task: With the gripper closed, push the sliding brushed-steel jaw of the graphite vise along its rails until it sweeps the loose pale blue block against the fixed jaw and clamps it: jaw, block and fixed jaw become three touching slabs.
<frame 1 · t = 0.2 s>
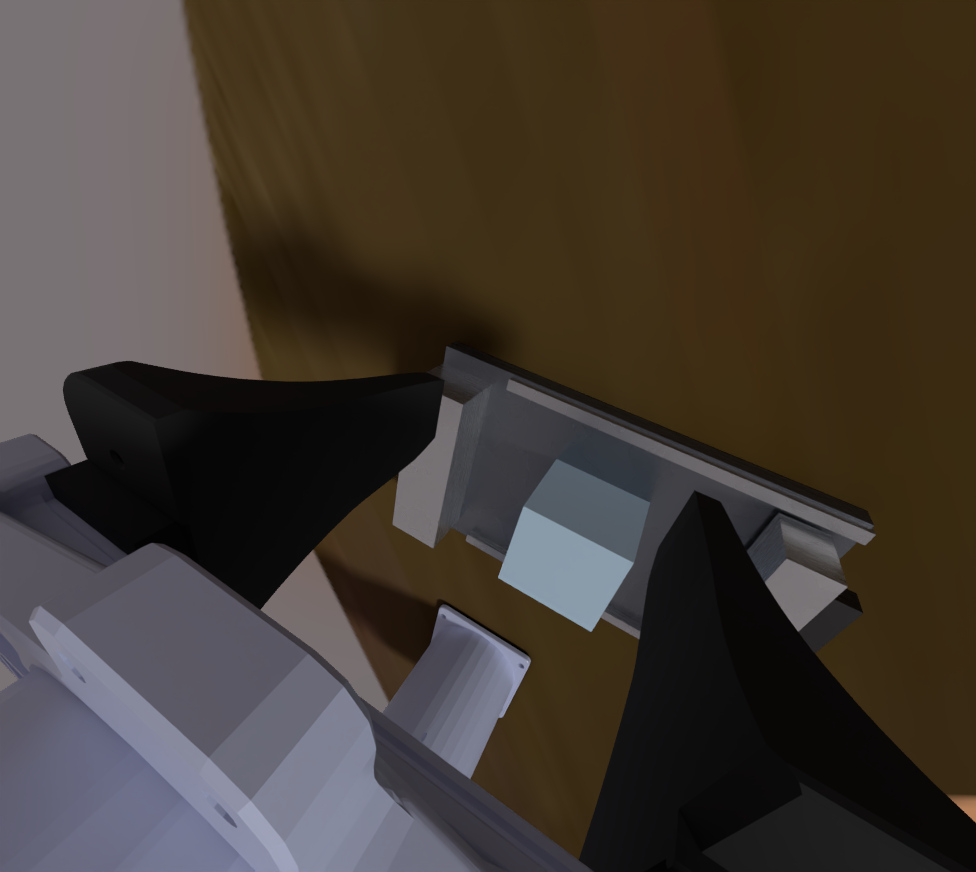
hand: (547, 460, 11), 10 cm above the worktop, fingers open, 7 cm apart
steel block: (585, 515, 22), point 1 cm above the worktop, touching vise
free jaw: (754, 627, 19), point 3 cm above the worktop, slide at 0.0 cm
vise: (590, 504, 23), on the worktop
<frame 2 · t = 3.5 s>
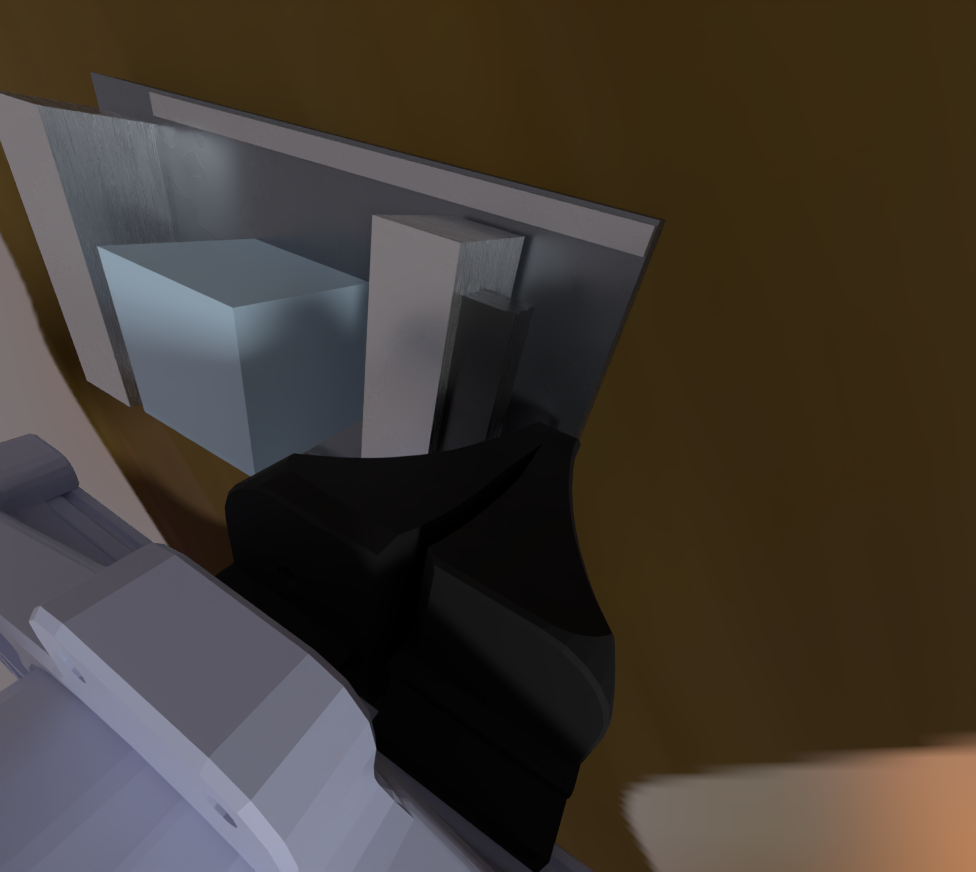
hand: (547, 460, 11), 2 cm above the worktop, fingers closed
steel block: (311, 332, 15), point 1 cm above the worktop, touching vise
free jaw: (445, 430, 12), point 3 cm above the worktop, slide at 1.8 cm, touching gripper
vise: (332, 327, 16), on the worktop
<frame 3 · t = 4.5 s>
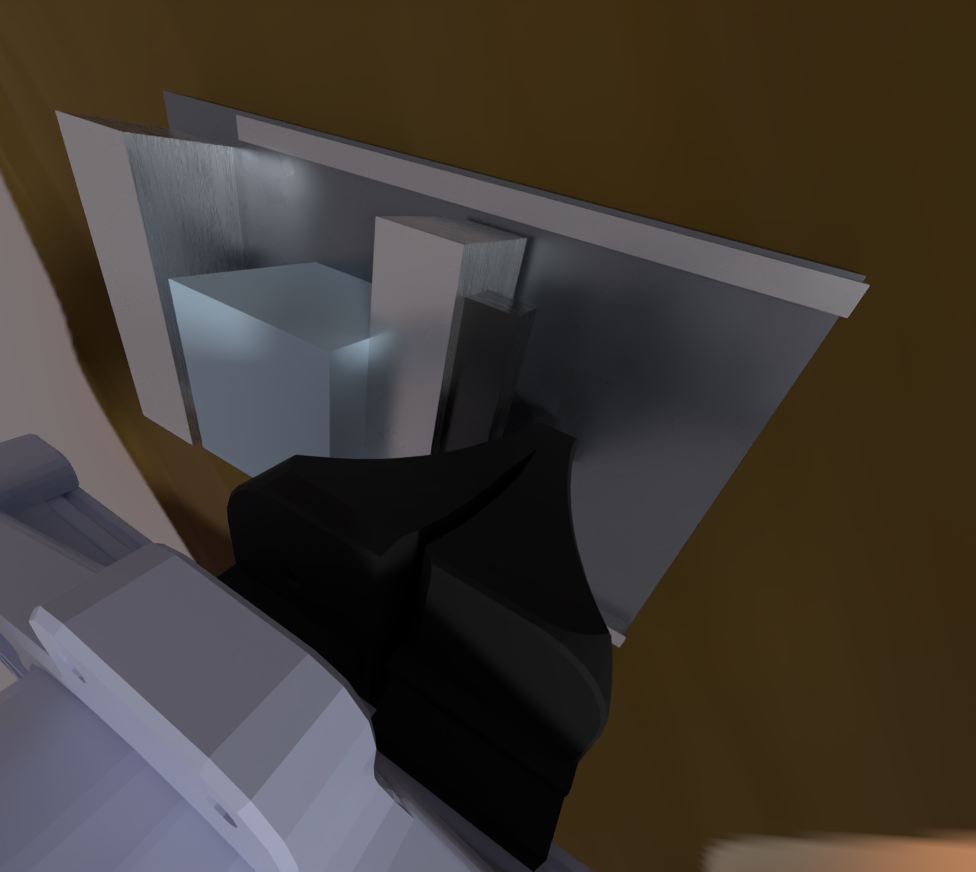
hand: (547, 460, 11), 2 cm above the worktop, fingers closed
steel block: (373, 360, 14), point 1 cm above the worktop, touching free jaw
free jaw: (447, 431, 12), point 3 cm above the worktop, slide at 5.6 cm, touching gripper, steel block
vise: (416, 363, 15), on the worktop
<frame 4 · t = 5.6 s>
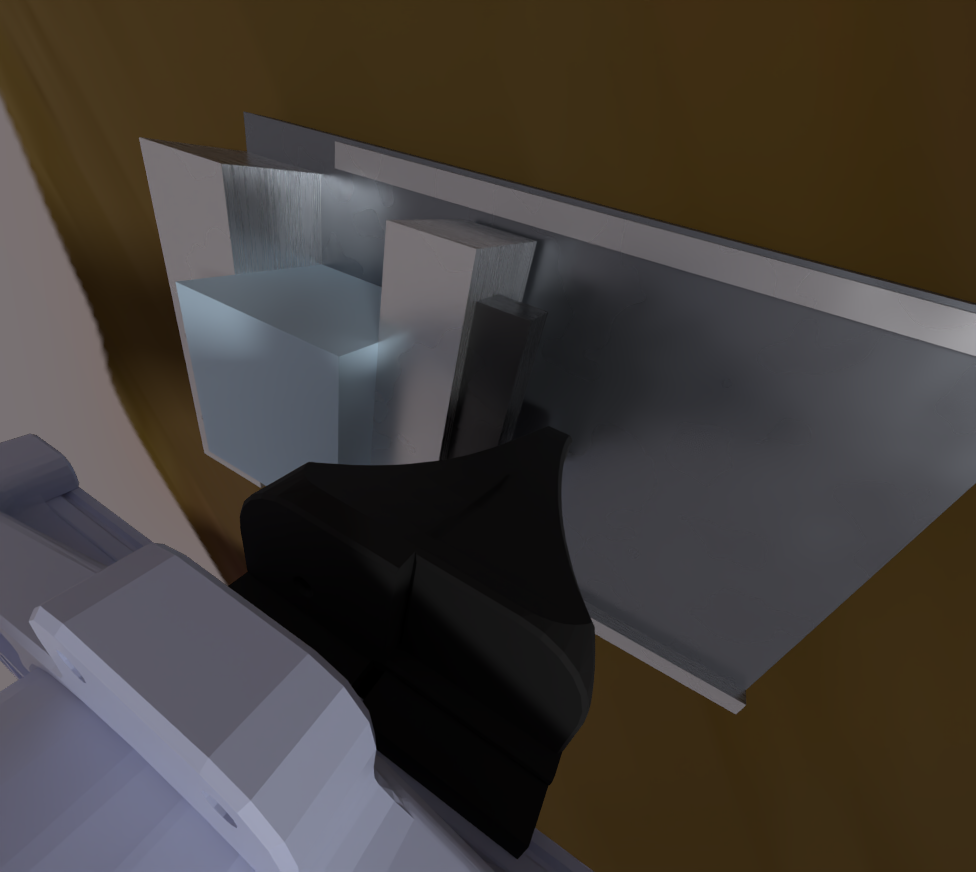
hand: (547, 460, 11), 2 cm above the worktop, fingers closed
steel block: (379, 363, 14), point 1 cm above the worktop, touching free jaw, vise
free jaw: (455, 435, 11), point 3 cm above the worktop, slide at 9.0 cm, touching gripper, steel block
vise: (510, 404, 14), on the worktop
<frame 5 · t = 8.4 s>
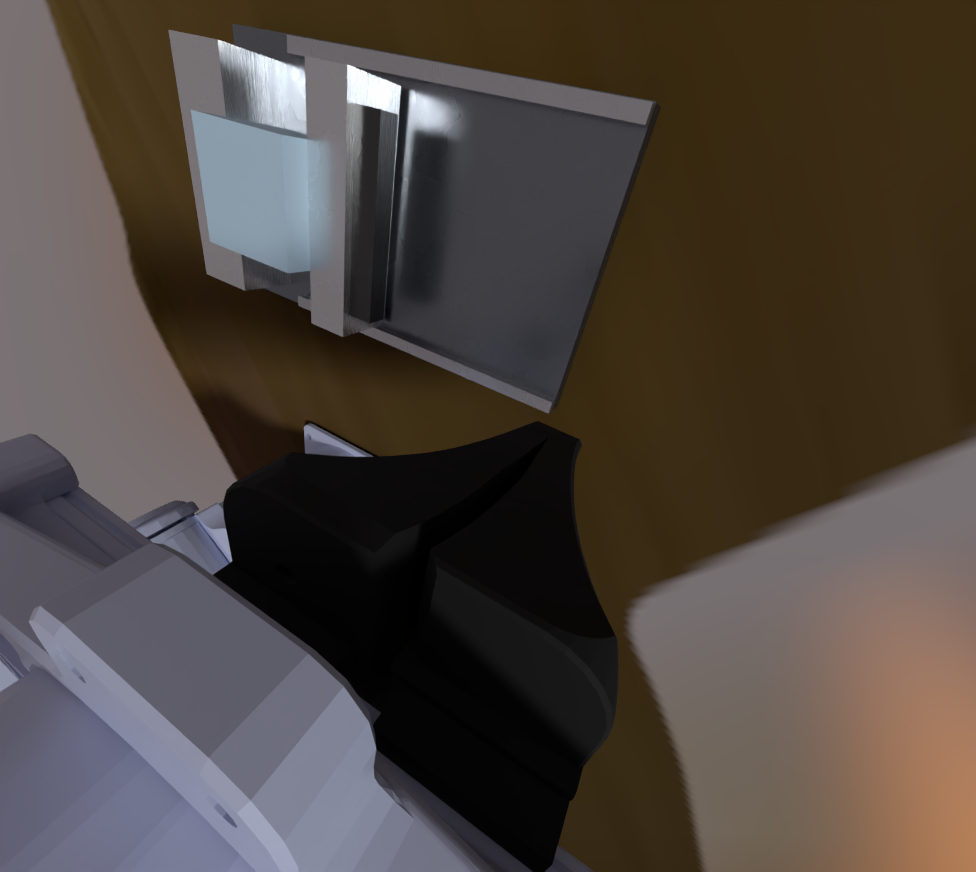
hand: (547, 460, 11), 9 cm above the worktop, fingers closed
steel block: (323, 198, 21), point 1 cm above the worktop, touching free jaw, vise
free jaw: (362, 219, 18), point 3 cm above the worktop, slide at 9.0 cm, touching steel block
vise: (408, 221, 21), on the worktop
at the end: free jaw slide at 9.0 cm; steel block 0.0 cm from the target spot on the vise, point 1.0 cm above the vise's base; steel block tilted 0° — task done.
